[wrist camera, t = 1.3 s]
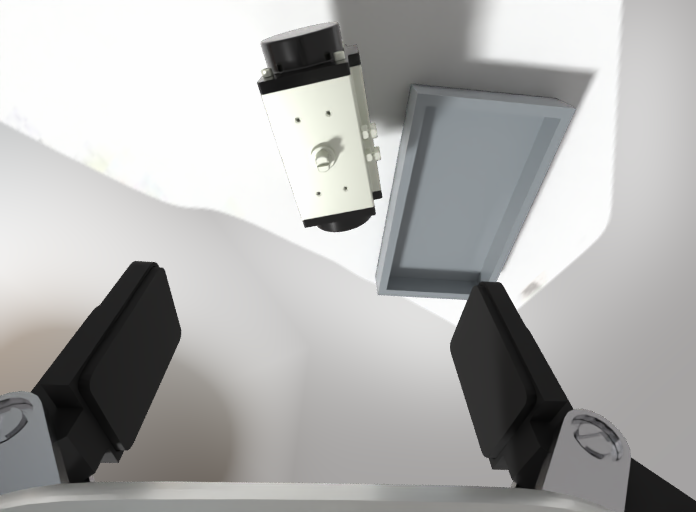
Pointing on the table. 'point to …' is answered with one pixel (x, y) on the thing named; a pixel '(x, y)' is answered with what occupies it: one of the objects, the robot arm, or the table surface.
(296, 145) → the pneumatic valve
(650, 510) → the robot arm
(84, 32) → the table surface
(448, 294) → the parts tray
